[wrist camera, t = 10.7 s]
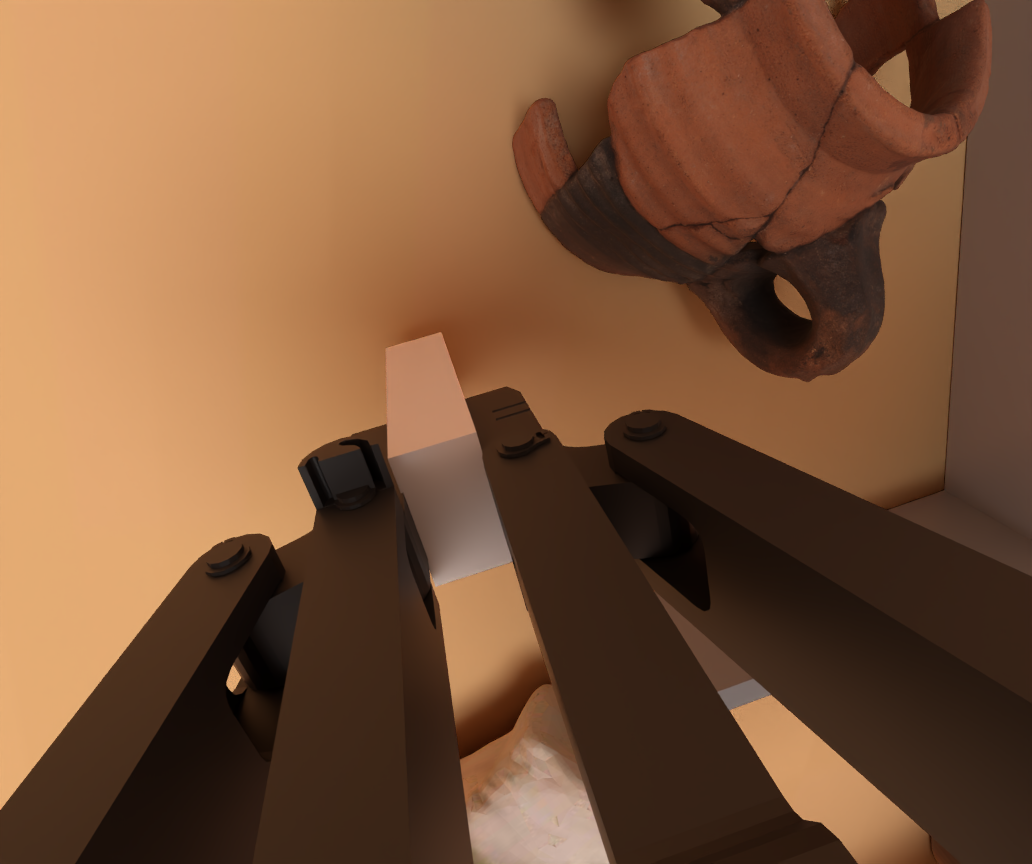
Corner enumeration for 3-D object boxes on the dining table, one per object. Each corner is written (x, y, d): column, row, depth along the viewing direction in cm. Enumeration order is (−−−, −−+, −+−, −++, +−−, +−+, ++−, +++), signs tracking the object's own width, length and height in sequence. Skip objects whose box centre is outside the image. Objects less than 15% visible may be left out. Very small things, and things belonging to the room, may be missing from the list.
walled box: (964, 502, 25) (1092, 576, 20) (573, 640, 24) (617, 751, 19) (1034, -318, 15) (1323, -533, 10) (345, -146, 13) (325, -305, 9)
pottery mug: (424, 42, 16) (636, -329, 8) (664, -18, 20) (944, -300, 12) (621, 451, 18) (921, 440, 11) (798, 320, 22) (1100, 247, 15)
